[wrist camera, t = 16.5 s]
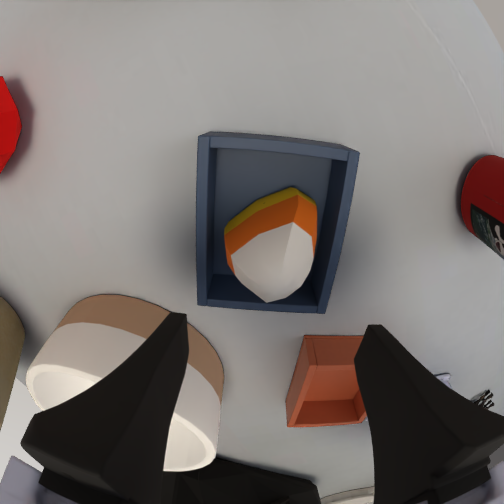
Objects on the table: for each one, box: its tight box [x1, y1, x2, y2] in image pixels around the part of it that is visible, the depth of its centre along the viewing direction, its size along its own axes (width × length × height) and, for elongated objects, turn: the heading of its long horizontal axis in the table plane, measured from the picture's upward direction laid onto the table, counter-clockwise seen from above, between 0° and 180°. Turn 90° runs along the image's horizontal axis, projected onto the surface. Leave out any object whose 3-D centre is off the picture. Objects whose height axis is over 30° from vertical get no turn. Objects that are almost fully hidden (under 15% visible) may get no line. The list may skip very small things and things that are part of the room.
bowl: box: [26, 295, 224, 471], centre depth 22 cm, size 17×17×8 cm
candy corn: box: [224, 187, 317, 303], centre depth 14 cm, size 6×3×8 cm, turn 121°
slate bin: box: [196, 132, 360, 314], centre depth 17 cm, size 8×10×3 cm
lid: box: [320, 486, 374, 504], centre depth 51 cm, size 17×20×3 cm
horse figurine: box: [474, 390, 494, 410], centre depth 30 cm, size 9×4×15 cm
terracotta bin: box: [285, 335, 367, 427], centre depth 24 cm, size 8×10×3 cm
